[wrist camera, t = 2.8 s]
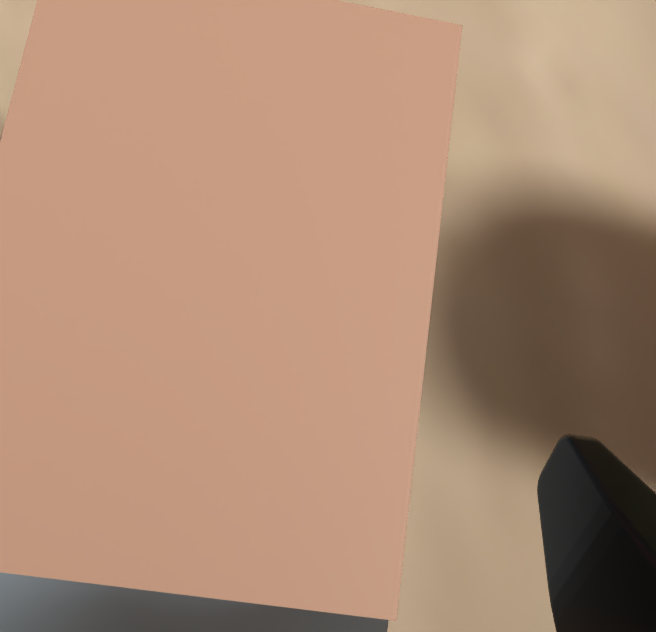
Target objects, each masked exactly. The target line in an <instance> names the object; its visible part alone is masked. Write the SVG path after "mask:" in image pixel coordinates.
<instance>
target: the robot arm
mask: <svg viewBox="0 0 656 632" xmlns="http://www.w3.org/2000/svg"><path fill="white" fill-rule="evenodd" d="M537 493H538V503H539V511H540V520H541V529H542V537H543V546H544V555H545V563H546V572H547V581H548V589H549V596H550V602H551V608H552V613H553V618H554V623H555V627H556V631H557V632H656V493H655V492H654V491H653V490H652V489H650V488H649V487H648V486H647V485H646V484H645V483H644V482H643V481H642V480H641V479H640V478H639V477H638V476H636V475H635V474H634V473H633V472H632V471H631V470H630V469H629V468H628V467H627V466H626V465H625V464H624V463H622V462H621V461H620V460H619V459H618V458H617V457H616V456H615V455H614V454H613V453H612V452H611V451H610V450H608V449H607V448H606V447H605V446H604V445H603V444H602V443H601V442H600V441H598V440H597V439H594V438H591V437H585V436H578V435H571V434H568V435H564V436H563V437H562V438H560V440H559V441H558V443H557V444H556V446H555V448H554V450H553V452H552V454H551V456H550V457H549V459H548V461H547V463H546V465H545V467H544V468H543V470H542V472H541V474H540V477H539V480H538V487H537Z"/></svg>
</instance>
